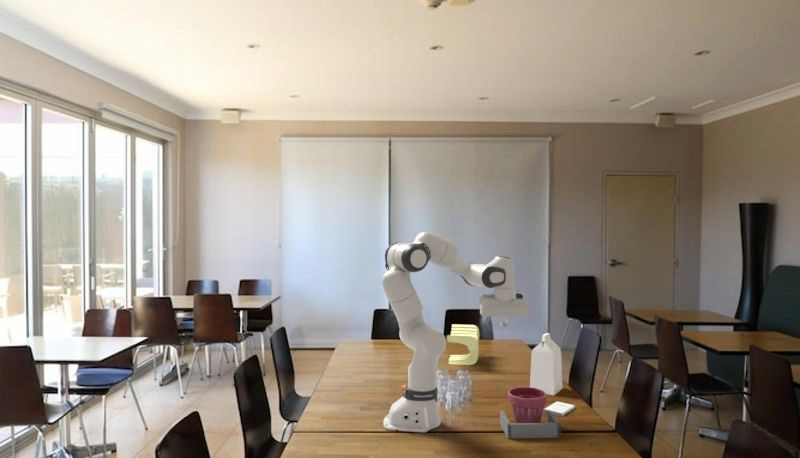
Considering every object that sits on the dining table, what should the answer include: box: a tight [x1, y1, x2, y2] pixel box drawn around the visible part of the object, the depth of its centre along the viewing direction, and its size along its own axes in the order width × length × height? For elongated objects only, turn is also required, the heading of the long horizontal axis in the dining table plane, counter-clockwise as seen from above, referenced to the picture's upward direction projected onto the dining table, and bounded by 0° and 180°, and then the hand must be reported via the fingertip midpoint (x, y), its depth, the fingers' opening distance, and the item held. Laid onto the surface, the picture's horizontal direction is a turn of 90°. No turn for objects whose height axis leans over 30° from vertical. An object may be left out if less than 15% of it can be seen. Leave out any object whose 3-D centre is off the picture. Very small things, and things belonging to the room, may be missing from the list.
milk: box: [529, 332, 563, 396], centre depth 245 cm, size 12×12×26 cm
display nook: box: [499, 410, 562, 439], centre depth 198 cm, size 19×14×5 cm
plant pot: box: [507, 386, 547, 423], centre depth 203 cm, size 14×14×13 cm
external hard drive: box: [543, 401, 576, 417], centre depth 219 cm, size 2×8×12 cm
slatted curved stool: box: [446, 323, 480, 366], centre depth 295 cm, size 30×16×18 cm, turn 169°
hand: (504, 326), depth 224 cm, fingers closed
